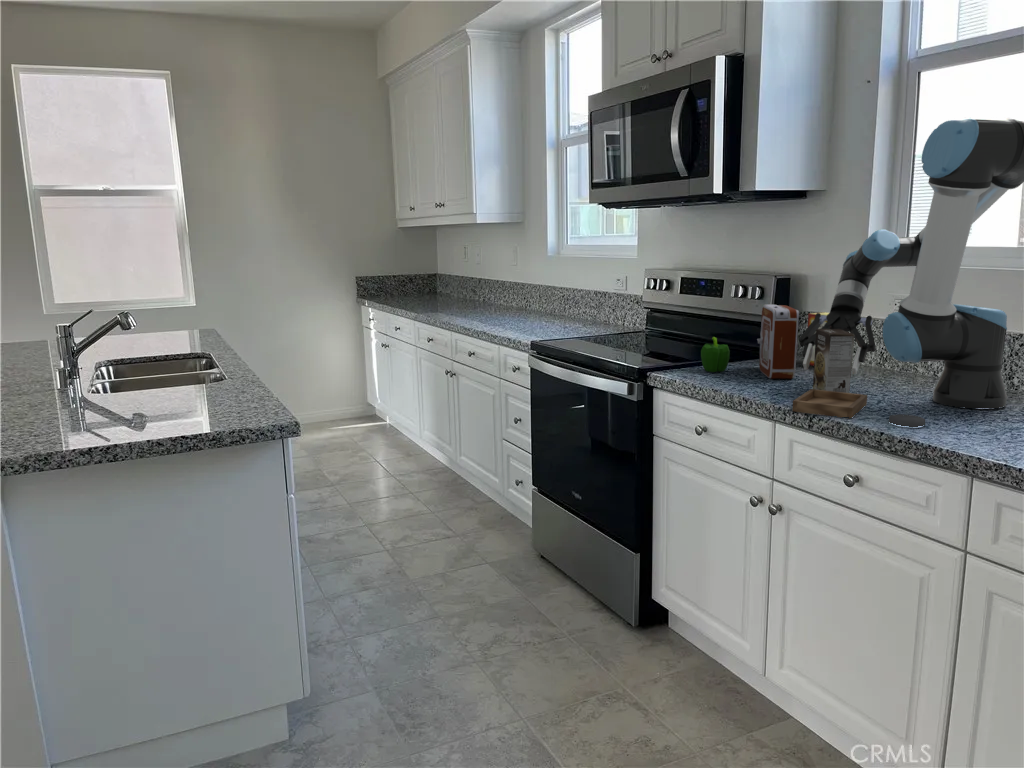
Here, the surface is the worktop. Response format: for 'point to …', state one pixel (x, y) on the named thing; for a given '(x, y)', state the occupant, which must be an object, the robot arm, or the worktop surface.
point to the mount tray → (829, 403)
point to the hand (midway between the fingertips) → (829, 369)
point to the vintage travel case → (778, 341)
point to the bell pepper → (715, 356)
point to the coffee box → (833, 360)
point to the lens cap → (907, 420)
